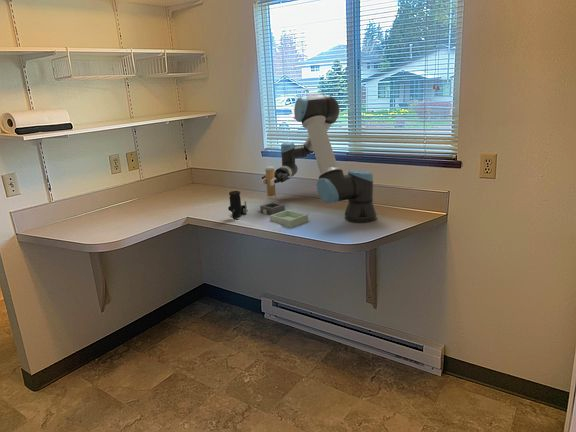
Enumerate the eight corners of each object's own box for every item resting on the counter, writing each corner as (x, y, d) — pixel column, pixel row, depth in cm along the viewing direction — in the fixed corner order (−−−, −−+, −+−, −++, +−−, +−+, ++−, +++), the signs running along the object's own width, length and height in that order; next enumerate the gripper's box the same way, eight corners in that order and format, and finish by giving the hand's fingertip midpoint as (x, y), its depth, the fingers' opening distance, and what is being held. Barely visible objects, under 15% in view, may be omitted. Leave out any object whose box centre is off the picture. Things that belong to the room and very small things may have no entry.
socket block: (289, 212, 231) (288, 204, 230) (272, 217, 223) (271, 209, 222) (273, 208, 239) (272, 201, 238) (256, 213, 231) (256, 206, 230)
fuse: (277, 197, 229) (276, 166, 225) (271, 199, 226) (269, 168, 222) (271, 196, 232) (269, 166, 228) (265, 198, 229) (263, 167, 225)
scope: (246, 189, 225) (240, 194, 216) (248, 215, 229) (242, 221, 220) (230, 189, 227) (224, 194, 217) (233, 215, 231) (226, 220, 221)
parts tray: (308, 221, 214) (307, 214, 213) (290, 227, 206) (290, 220, 205) (287, 216, 224) (287, 209, 223) (270, 222, 216) (269, 215, 215)
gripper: (298, 180, 241) (283, 190, 220) (268, 180, 247) (251, 189, 226) (297, 167, 239) (282, 175, 218) (267, 166, 245) (250, 175, 224)
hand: (266, 182), depth 222 cm, fingers closed on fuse, 4 cm apart
